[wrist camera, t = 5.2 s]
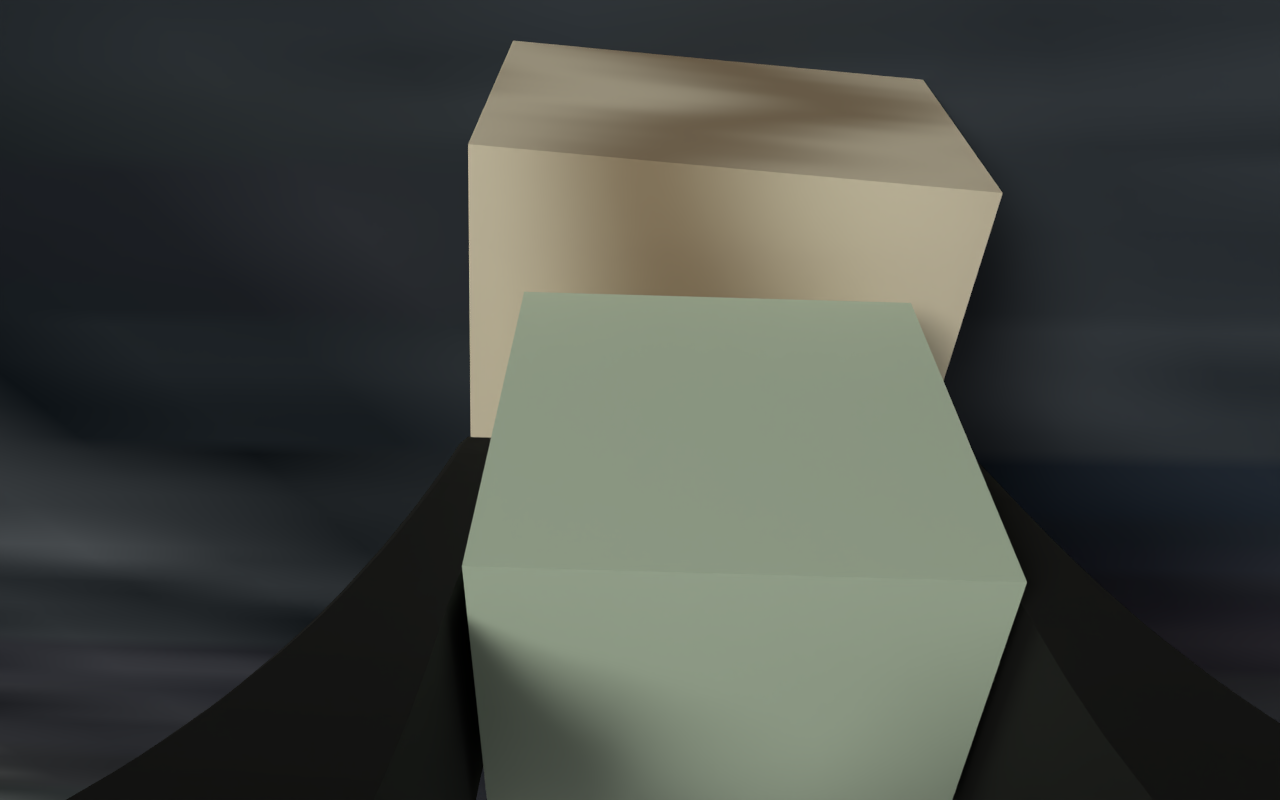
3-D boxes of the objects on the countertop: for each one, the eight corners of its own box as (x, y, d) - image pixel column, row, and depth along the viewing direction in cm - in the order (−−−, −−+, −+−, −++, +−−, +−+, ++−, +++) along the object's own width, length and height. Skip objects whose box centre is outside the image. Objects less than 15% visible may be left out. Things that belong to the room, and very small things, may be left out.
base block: (920, 76, 17) (1003, 193, 13) (839, 408, 21) (882, 576, 17) (514, 37, 17) (468, 144, 13) (508, 380, 21) (471, 544, 17)
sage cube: (910, 303, 13) (1027, 583, 9) (854, 579, 16) (921, 887, 12) (523, 291, 13) (462, 566, 9) (537, 570, 16) (494, 875, 12)
